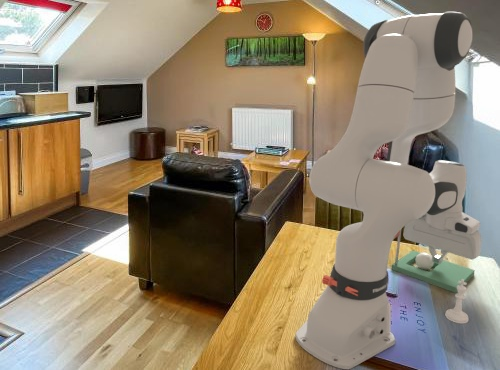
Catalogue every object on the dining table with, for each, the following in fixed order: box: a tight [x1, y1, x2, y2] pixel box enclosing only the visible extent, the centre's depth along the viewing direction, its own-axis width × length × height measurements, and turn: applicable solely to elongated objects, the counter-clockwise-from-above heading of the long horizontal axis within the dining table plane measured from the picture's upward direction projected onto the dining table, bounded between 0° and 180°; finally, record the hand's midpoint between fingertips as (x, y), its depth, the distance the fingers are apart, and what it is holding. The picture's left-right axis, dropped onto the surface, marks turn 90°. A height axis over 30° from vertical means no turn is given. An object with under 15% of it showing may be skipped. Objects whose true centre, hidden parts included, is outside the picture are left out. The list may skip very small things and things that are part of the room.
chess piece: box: [445, 279, 469, 324], centre depth 89 cm, size 5×5×10 cm
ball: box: [414, 252, 434, 271], centre depth 113 cm, size 5×5×5 cm
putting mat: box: [391, 227, 476, 294], centre depth 109 cm, size 17×18×14 cm
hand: (436, 262), depth 111 cm, fingers closed
